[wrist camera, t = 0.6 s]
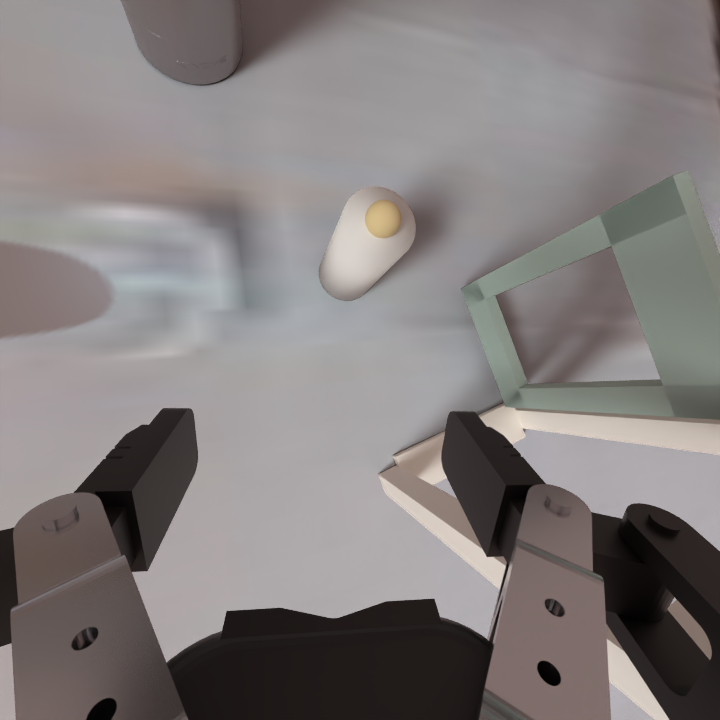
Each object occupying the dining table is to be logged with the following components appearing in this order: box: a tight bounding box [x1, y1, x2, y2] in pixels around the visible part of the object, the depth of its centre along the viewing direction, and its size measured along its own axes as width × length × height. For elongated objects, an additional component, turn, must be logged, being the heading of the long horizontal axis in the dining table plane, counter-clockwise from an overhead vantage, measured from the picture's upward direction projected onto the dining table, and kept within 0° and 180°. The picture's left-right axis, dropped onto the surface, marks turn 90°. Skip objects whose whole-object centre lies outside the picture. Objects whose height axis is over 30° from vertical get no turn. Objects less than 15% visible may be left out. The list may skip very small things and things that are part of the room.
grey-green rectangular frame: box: [461, 171, 720, 420], centre depth 28 cm, size 13×3×20 cm, turn 22°
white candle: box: [319, 187, 416, 301], centre depth 29 cm, size 5×5×13 cm
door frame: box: [378, 403, 720, 720], centre depth 24 cm, size 4×18×26 cm, turn 112°
